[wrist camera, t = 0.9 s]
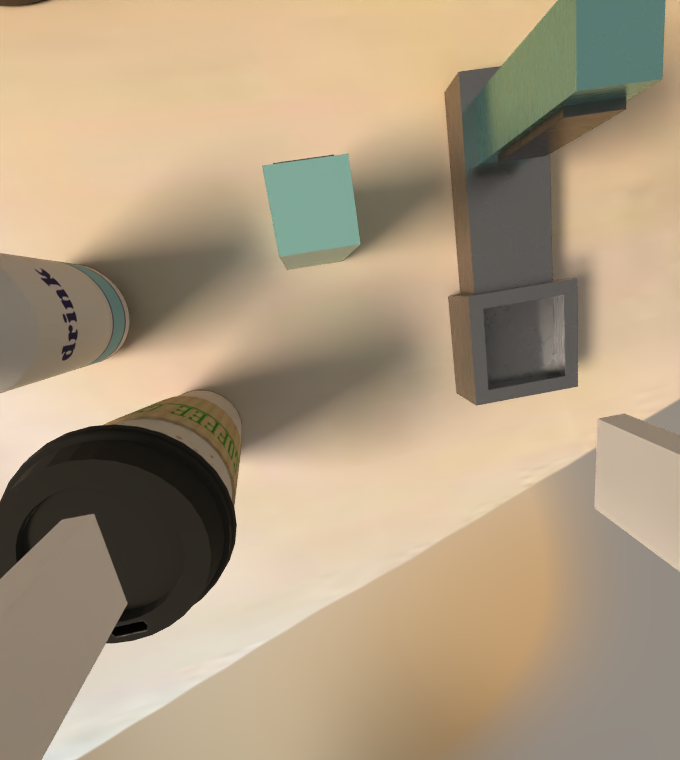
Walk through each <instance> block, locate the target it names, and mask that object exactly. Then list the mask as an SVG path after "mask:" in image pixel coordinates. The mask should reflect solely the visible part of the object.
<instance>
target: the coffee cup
mask: <svg viewBox="0 0 680 760" xmlns="http://www.w3.org/2000/svg"><path fill="white" fill-rule="evenodd" d="M241 434H242V424H241V419H240V416H239V413H238V412H237V410H236V408H235V407H234V406H233V405H232V404H231V402H230V401H228V400H227V399H226V398H224V397H223V396H221V395H219V394H217V393H213V392H210V391H203V390H199V391H191V392H187V393H184V394H182V395H180V396H177V397H172V398H169V399H165V400H162V401H160V402H157V403H155V404H152V405H150V406H148V407H145V408H143V409H140V410H138V411H135V412H133V413H130V414H128V415H125V416H123V417H120V418H118V419H115V420H113V421H110V422H108V423H106V424H104V425H101V426H90V427H87V428H83V429H80V430H76V431H72V432H69V433H66V434H64V435H62V436H60V437H58V438H56V439H54V440H53V441H51V442H49V443H47V444H46V445H44V446H43V447H42V448H41V449H39V450H38V451H37V452H36V453H34V454H33V455H32V456H31V457H30V458H29V459H28V460H27V461H26V462H25V463H23V465H22V466H21V467H20V469H19V470H18V471H17V472H16V474H15V475H14V476H13V477H12V479H11V480H10V482H9V483H8V485H7V488H6V490H5V492H4V494H3V496H2V499H1V501H0V579H1V578H2V577H3V576H4V575H5V574H6V573H7V572H8V571H9V570H10V569H11V568H12V567H13V566H14V565H15V564H16V563H17V562H18V561H20V560H21V559H22V558H23V557H24V556H25V555H26V554H27V553H28V552H29V551H30V550H31V549H32V548H33V547H34V546H35V545H36V544H37V543H38V542H39V541H40V540H41V539H42V538H43V537H44V536H45V535H46V534H48V533H49V532H50V531H51V530H52V529H53V528H54V527H55V526H56V525H57V524H58V523H59V522H60V521H61V520H63V519H68V518H74V517H79V516H84V515H90V514H94V515H95V518H96V520H97V523H98V526H99V528H100V531H101V534H102V536H103V539H104V542H105V544H106V547H107V550H108V553H109V555H110V558H111V561H112V563H113V566H114V569H115V571H116V574H117V577H118V579H119V582H120V585H121V587H122V590H123V593H124V595H125V598H126V601H127V603H128V604H127V606H126V607H125V609H124V611H123V613H122V615H121V616H120V618H119V620H118V622H117V624H116V625H115V627H114V629H113V631H112V633H111V635H110V636H109V638H108V640H107V642H106V643H119V642H126V641H133V640H137V639H140V638H143V637H147V636H150V635H153V634H155V633H157V632H159V631H161V630H163V629H165V628H167V627H169V626H170V625H172V624H173V623H174V622H176V621H177V620H178V619H180V618H181V617H182V616H184V615H185V614H186V613H187V611H188V610H189V609H190V608H191V607H192V606H193V605H194V604H196V603H197V602H198V601H200V600H201V599H202V598H203V597H204V596H205V595H206V594H207V593H208V591H209V590H210V589H211V588H212V587H213V586H214V585H215V584H216V583H217V581H218V579H219V578H220V576H221V574H222V572H223V571H224V569H225V567H226V566H227V564H228V562H229V560H230V557H231V554H232V551H233V548H234V545H235V538H236V526H237V524H236V517H235V510H234V504H235V496H236V488H237V479H238V471H239V463H240V454H241Z"/></svg>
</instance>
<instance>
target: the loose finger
mask: <svg viewBox="0 0 680 760" xmlns="http://www.w3.org/2000/svg"><path fill="white" fill-rule="evenodd" d="M262 167H263V172H264V178H265V183H266V188H267V194H268V199H269V204H270V210H271V215H272V220H273V226H274V231H275V236H276V242H277V247H278V252H279V257H280V259H281V260H282V262H283V264H284V266H285V267H286V269H287V270H289V269H296V268H302V267H308V266H315V265H321V264H327V263H334V262H340V261H343V260H344V259H345V258H346V257H347V256H348V255H349V254H350V253H352V252H353V251H354V250H355V249H356V248H357V247H358V246H359V245H360V244H361V243H360V236H359V229H358V222H357V214H356V207H355V200H354V192H353V185H352V178H351V171H350V163H349V156H348V154H343V155H336V156H334V155H329V156H322V157H314V158H307V159H300V160H293V161H286V162H279V163H273V164H271V165H264V166H262Z"/></svg>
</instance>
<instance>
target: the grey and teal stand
mask: <svg viewBox="0 0 680 760" xmlns="http://www.w3.org/2000/svg"><path fill="white" fill-rule="evenodd" d="M664 22H665V0H558V1H557V2H556V3H555V4H554V5H553V7H552V8H551V9H550V10H549V11H548V12H547V14H546V15H545V16H544V17H543V18H542V19H541V21H540V22H539V23H538V24H537V25H536V26H535V28H534V29H533V30H532V31H531V32H530V33H529V35H528V36H527V37H526V38H525V39H524V40H523V42H522V43H521V44H520V45H519V46H518V47H517V49H516V50H515V51H514V52H513V53H512V54H511V56H510V57H509V58H508V59H507V60H506V61H505V63H504V64H503V65H502V66H500V67H492V68H484V69H476V70H469V71H461V72H458V74H457V75H456V76H455V78H454V79H453V81H452V82H451V84H450V85H449V87H448V88H447V89H446V91H445V105H446V117H447V130H448V143H449V155H450V168H451V181H452V193H453V206H454V219H455V231H456V244H457V257H458V270H459V282H460V295H455V296H449V297H448V299H449V311H450V322H451V334H452V345H453V357H454V368H455V380H456V391H457V394H459V395H460V396H462V397H464V398H465V399H467V400H469V401H470V402H472V403H473V404H475V405H481V404H487V403H492V402H497V401H503V400H508V399H513V398H519V397H524V396H529V395H535V394H540V393H546V392H551V391H556V390H562V389H567V388H572V387H578V335H577V278H574V279H560V280H552V233H551V186H550V153H552V152H554V151H555V150H557V149H559V148H560V147H562V146H564V145H565V144H567V143H569V142H571V141H572V140H574V139H576V138H577V137H579V136H581V135H583V134H584V133H586V132H588V131H589V130H591V129H593V128H595V127H596V126H598V125H600V124H601V123H603V122H605V121H607V120H608V119H610V118H612V117H613V116H615V115H617V114H619V113H620V112H622V111H624V110H625V109H626V101H627V100H629V99H630V98H632V97H634V96H635V95H637V94H639V93H640V92H642V91H644V90H645V89H647V88H648V87H650V86H652V85H653V84H655V83H657V82H658V81H660V80H662V70H663V46H664Z"/></svg>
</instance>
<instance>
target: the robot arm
mask: <svg viewBox="0 0 680 760" xmlns="http://www.w3.org/2000/svg"><path fill="white" fill-rule="evenodd" d="M38 1H41V0H0V5H23V4H29V3H34V2H38ZM596 454H597V455H596V484H595V509H597V510H598V511H599V512H601V513H602V514H603V515H605V516H606V517H607V518H609V519H610V520H611V521H613V522H614V523H616V524H617V525H618V526H620V527H621V528H622V529H623V530H625V531H626V532H628V533H629V534H630V535H631V536H633V537H634V538H635V539H637V540H638V541H639V542H641V543H642V544H644V545H645V546H646V547H647V548H649V549H650V550H651V551H653V552H654V553H656V554H657V555H658V556H659V557H661V558H662V559H663V560H665V561H666V562H668V563H669V564H670V565H671V566H673V567H674V568H676V569H677V570H678V571H679V572H680V435H678V434H675V433H673V432H670V431H668V430H665V429H663V428H660V427H657V426H655V425H652V424H650V423H647V422H644V421H642V420H639V419H637V418H634V417H632V416H629V415H626V414H620V415H615V416H610V417H604V418H599V419H598V421H597V452H596ZM127 604H128V603H127V601H126V598H125V595H124V593H123V590H122V587H121V585H120V582H119V579H118V577H117V574H116V571H115V569H114V566H113V563H112V561H111V558H110V555H109V553H108V550H107V547H106V544H105V542H104V539H103V536H102V534H101V531H100V528H99V526H98V523H97V520H96V518H95V515H94V514H90V515H84V516H79V517H74V518H68V519H63V520H61V521H60V522H59V523H58V524H57V525H56V526H55V527H54V528H53V529H52V530H51V531H50V532H49V533H48V534H46V535H45V536H44V537H43V538H42V539H41V540H40V541H39V542H38V543H37V544H36V545H35V546H34V547H33V548H32V549H31V550H30V551H29V552H28V553H27V554H26V555H25V556H24V557H23V558H22V559H21V560H20V561H18V562H17V563H16V564H15V565H14V566H13V567H12V568H11V569H10V570H9V571H8V572H7V573H6V574H5V575H4V576H3V577H2V578H1V579H0V760H42V758H43V756H44V754H45V752H46V751H47V749H48V747H49V745H50V743H51V742H52V740H53V738H54V736H55V734H56V732H57V731H58V729H59V727H60V725H61V723H62V722H63V720H64V718H65V716H66V714H67V713H68V711H69V709H70V707H71V705H72V703H73V702H74V700H75V698H76V696H77V694H78V693H79V691H80V689H81V687H82V685H83V684H84V682H85V680H86V678H87V676H88V674H89V673H90V671H91V669H92V667H93V665H94V664H95V662H96V660H97V658H98V656H99V654H100V653H101V651H102V649H103V647H104V645H105V644H106V642H107V640H108V638H109V636H110V635H111V633H112V631H113V629H114V627H115V625H116V624H117V622H118V620H119V618H120V616H121V615H122V613H123V611H124V609H125V607H126V606H127Z"/></svg>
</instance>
